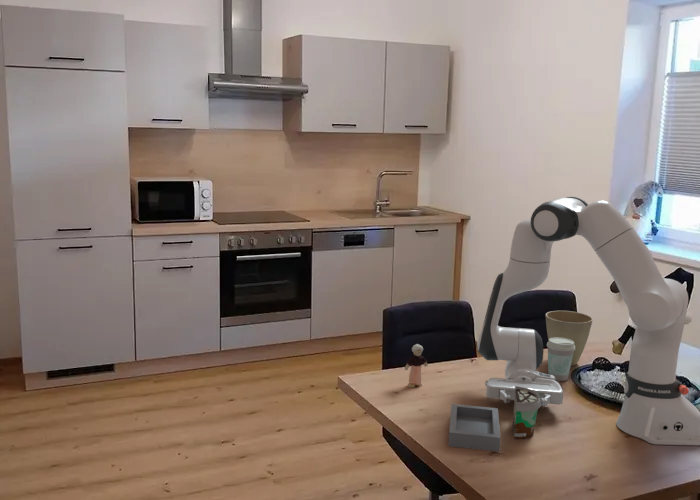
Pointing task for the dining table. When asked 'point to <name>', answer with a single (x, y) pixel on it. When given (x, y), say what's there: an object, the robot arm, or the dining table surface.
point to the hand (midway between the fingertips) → (525, 402)
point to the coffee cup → (560, 357)
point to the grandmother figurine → (415, 366)
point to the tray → (474, 427)
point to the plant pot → (569, 329)
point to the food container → (525, 412)
